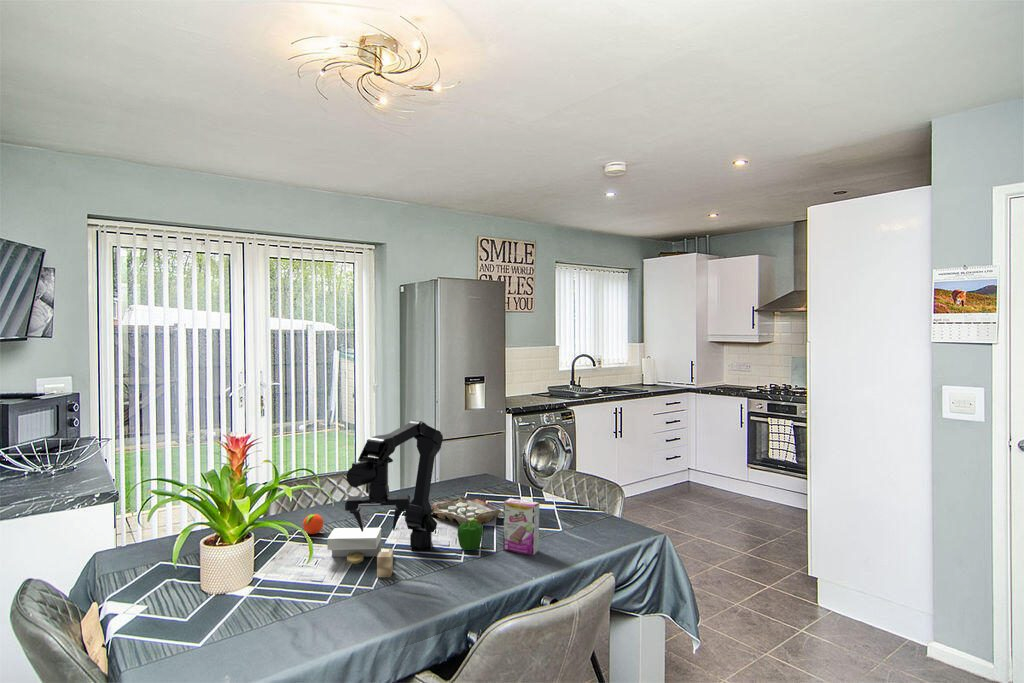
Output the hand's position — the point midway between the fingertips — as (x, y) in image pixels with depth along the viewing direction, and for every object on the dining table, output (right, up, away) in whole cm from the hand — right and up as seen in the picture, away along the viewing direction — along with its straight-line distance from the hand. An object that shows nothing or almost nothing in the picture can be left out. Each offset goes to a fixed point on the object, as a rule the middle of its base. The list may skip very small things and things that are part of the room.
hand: (378, 530), depth 171 cm
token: (-9, -12, +8) cm, 17 cm away
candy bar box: (+43, -13, +17) cm, 48 cm away
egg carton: (+21, -12, +50) cm, 56 cm away
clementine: (-31, -12, +30) cm, 45 cm away
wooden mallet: (+2, -12, +4) cm, 13 cm away
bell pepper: (+26, -12, +19) cm, 34 cm away
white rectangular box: (-10, -12, +10) cm, 18 cm away
